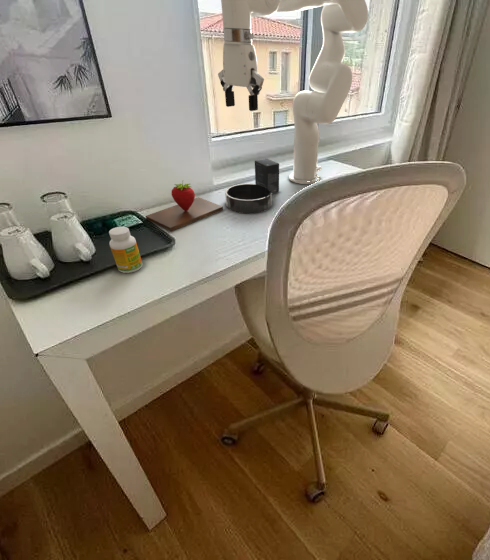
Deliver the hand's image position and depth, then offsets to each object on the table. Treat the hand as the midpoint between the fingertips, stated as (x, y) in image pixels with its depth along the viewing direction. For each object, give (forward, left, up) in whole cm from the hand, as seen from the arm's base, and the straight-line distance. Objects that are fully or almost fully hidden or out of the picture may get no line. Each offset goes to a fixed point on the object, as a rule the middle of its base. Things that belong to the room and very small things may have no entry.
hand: (241, 108), depth 97 cm
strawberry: (+23, -4, -27) cm, 36 cm away
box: (-10, +1, -28) cm, 30 cm away
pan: (+4, +5, -28) cm, 29 cm away
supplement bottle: (+50, +10, -28) cm, 58 cm away
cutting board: (+23, -4, -28) cm, 37 cm away
